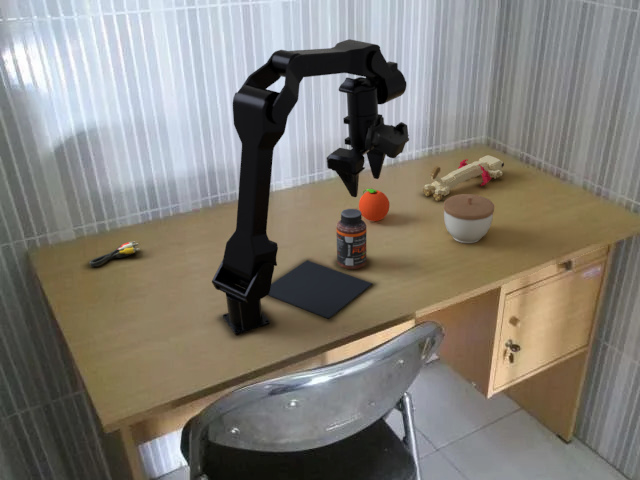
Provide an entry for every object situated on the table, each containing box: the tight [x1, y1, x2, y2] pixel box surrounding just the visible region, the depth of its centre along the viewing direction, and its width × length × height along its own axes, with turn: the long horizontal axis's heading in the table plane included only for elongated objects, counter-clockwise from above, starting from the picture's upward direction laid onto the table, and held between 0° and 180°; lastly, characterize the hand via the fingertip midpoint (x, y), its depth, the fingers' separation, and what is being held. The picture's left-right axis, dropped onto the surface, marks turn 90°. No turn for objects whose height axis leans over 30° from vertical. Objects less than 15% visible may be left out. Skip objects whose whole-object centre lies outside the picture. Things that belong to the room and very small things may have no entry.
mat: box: [267, 260, 373, 320], centre depth 129 cm, size 14×16×1 cm
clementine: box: [358, 188, 390, 222], centre depth 153 cm, size 8×7×7 cm
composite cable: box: [89, 240, 141, 267], centre depth 137 cm, size 10×5×2 cm, turn 123°
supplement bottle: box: [335, 208, 367, 270], centre depth 134 cm, size 6×6×11 cm
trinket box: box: [443, 193, 495, 244], centre depth 145 cm, size 11×11×9 cm
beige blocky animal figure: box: [422, 155, 505, 202], centre depth 169 cm, size 10×9×25 cm
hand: (365, 187), depth 136 cm, fingers open, 9 cm apart
